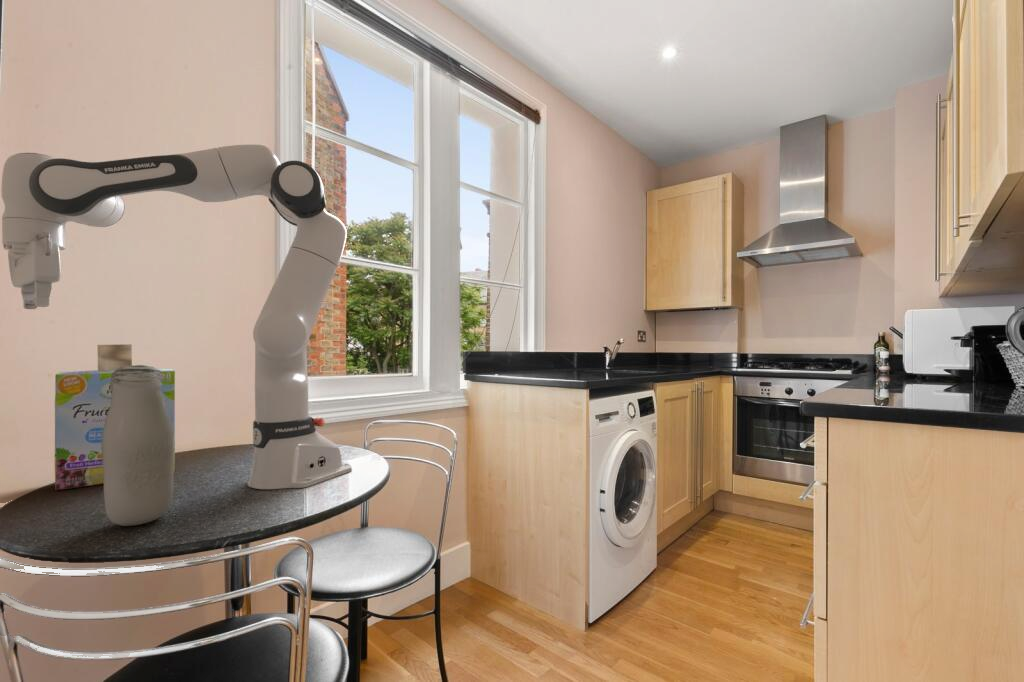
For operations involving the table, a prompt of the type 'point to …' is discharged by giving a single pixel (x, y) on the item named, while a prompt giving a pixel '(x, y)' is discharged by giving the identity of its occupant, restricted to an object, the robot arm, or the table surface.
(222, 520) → the table surface
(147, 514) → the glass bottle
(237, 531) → the table surface
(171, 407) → the snack box
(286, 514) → the table surface
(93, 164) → the robot arm
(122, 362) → the maple block
